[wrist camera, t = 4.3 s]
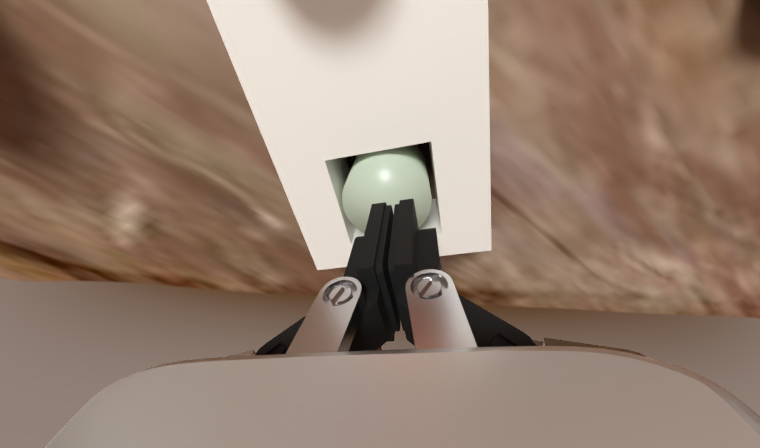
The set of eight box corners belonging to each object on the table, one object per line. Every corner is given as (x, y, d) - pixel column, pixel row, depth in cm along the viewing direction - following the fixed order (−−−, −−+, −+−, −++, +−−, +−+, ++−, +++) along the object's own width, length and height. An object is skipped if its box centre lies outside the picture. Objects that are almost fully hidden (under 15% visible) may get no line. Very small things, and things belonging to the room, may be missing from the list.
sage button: (421, 127, 17) (425, 152, 13) (430, 197, 19) (436, 233, 15) (345, 142, 17) (330, 168, 14) (363, 207, 20) (354, 243, 16)
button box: (453, -338, 9) (480, -548, 6) (476, 212, 20) (491, 250, 16) (175, -215, 11) (73, -324, 8) (331, 232, 21) (317, 270, 18)
